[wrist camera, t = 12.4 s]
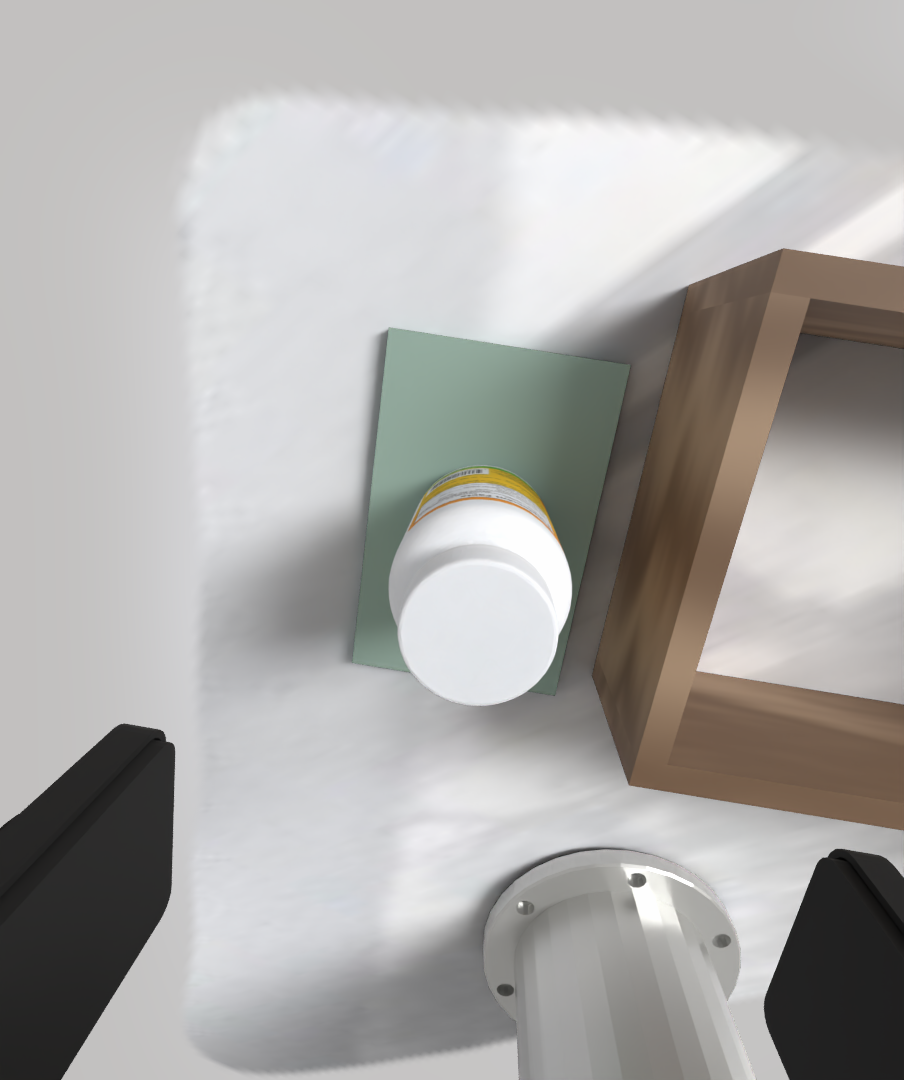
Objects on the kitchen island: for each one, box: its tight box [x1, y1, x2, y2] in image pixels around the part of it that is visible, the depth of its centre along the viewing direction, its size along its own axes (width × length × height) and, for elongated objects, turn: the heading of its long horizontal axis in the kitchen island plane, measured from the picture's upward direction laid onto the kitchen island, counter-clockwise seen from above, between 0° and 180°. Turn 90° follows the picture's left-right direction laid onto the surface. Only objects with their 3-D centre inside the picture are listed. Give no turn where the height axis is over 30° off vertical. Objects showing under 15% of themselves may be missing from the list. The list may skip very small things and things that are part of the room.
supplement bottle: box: [388, 465, 572, 706], centre depth 19 cm, size 5×5×10 cm
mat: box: [352, 328, 631, 696], centre depth 24 cm, size 14×9×1 cm, turn 172°
